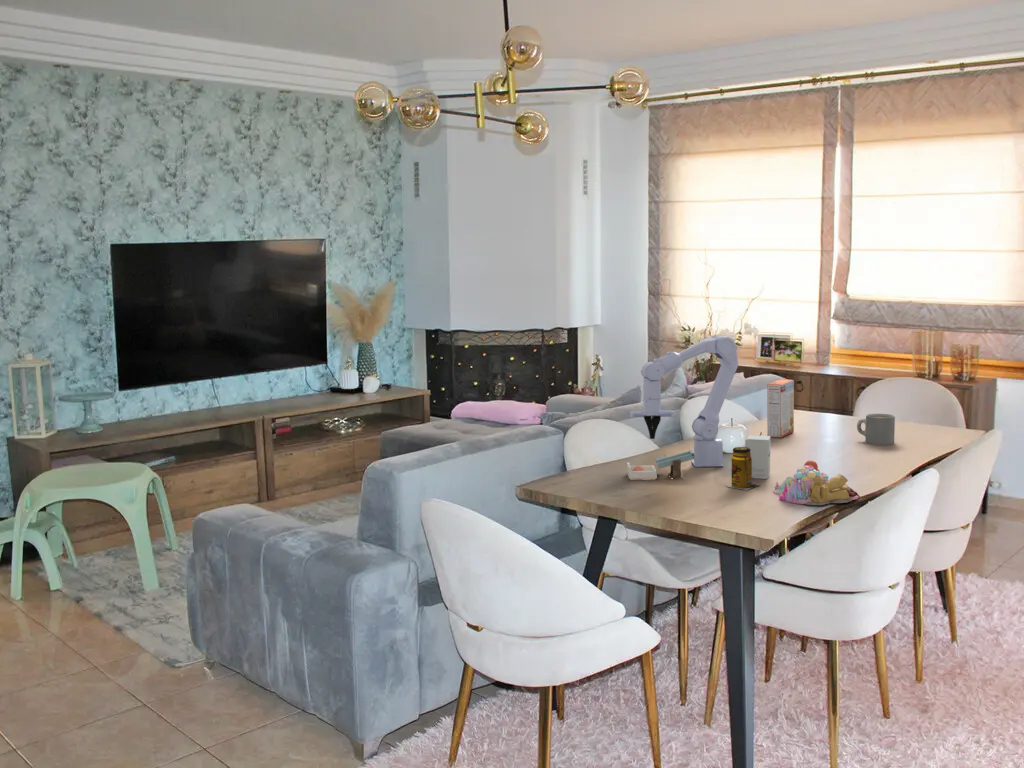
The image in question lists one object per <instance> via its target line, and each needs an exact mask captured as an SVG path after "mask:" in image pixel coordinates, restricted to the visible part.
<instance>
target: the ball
mask: <svg viewBox="0 0 1024 768" xmlns="http://www.w3.org/2000/svg"><path fill="white" fill-rule="evenodd" d="M635 466H636V467H635V468H634V469H633V471H643V468H642V467H641V466H642V465H635Z"/></svg>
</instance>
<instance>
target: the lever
mask: <svg viewBox="0 0 1024 768" xmlns="http://www.w3.org/2000/svg"><path fill="white" fill-rule="evenodd" d="M694 459H695V456H694V450H692V449H689V450H688V451H684V452H681V453H677V454H673V455H670V456H666V455H662V456H659V457H658V456H657V457H655V458H654V461H655V464H656V466H657V468H658V470H661V469H664V468H668V467H671V465H673V460H681V463H685V462H689V461H694Z"/></svg>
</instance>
